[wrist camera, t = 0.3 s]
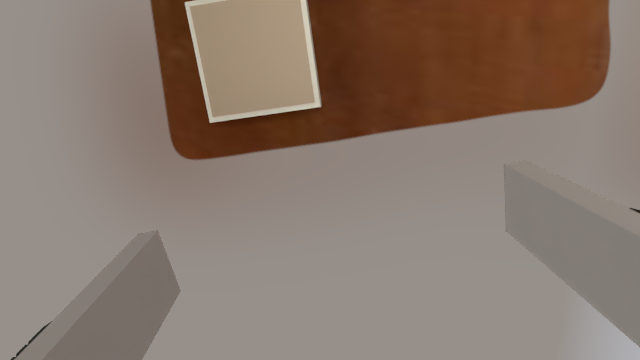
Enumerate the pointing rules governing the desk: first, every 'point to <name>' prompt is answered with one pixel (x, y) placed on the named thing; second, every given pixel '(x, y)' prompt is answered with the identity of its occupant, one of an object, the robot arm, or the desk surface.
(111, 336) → the robot arm
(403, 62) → the desk surface
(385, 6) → the desk surface
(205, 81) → the plinth
